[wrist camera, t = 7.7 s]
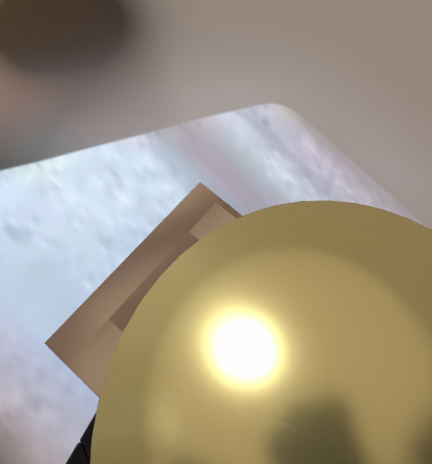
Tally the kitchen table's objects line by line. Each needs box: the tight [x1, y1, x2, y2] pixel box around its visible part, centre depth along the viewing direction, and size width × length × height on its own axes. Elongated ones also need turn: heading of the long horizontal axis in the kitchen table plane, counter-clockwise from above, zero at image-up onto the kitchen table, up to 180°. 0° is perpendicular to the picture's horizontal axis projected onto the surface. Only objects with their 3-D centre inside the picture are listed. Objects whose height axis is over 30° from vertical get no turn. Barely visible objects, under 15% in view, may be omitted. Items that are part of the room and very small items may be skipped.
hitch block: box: [45, 182, 242, 397], centre depth 17 cm, size 16×14×4 cm
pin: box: [90, 201, 432, 464], centre depth 9 cm, size 5×5×12 cm
